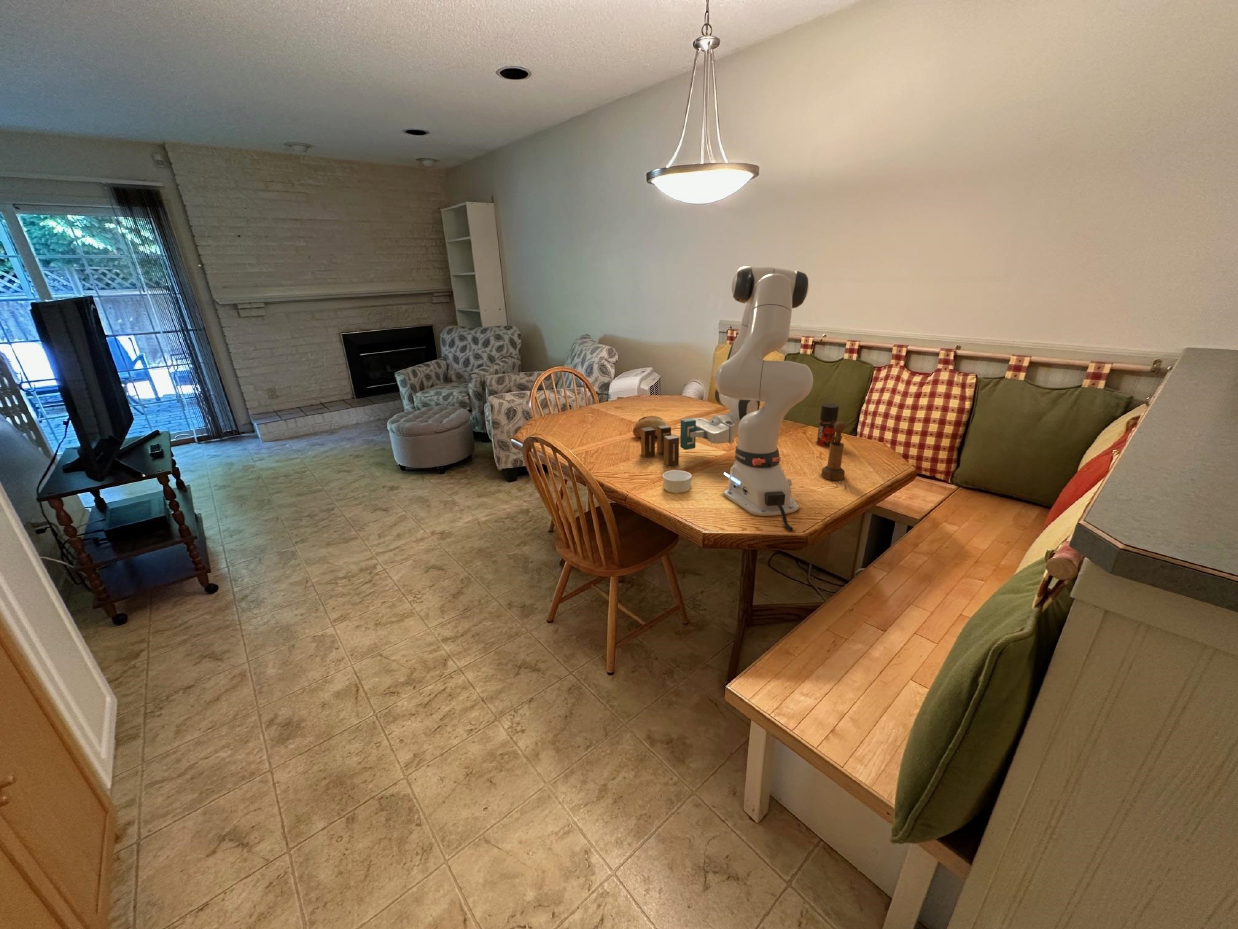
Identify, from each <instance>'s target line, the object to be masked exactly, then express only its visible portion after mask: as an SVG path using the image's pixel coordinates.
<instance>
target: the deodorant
mask: <svg viewBox="0 0 1238 929" xmlns="http://www.w3.org/2000/svg"><path fill="white" fill-rule="evenodd" d="M839 411H840V405H839V404H837V403H829V402H828V403H822V404H821V407H820V414H819V415H820V416H819V422H818V430H817V436H816V437H817V438H816V445H817V446H819V447H823V448H830V443H831V442H835V441H834V436H835V435H836V431H835V429H834V425H835V423H837V422H838V418H839Z"/></svg>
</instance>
